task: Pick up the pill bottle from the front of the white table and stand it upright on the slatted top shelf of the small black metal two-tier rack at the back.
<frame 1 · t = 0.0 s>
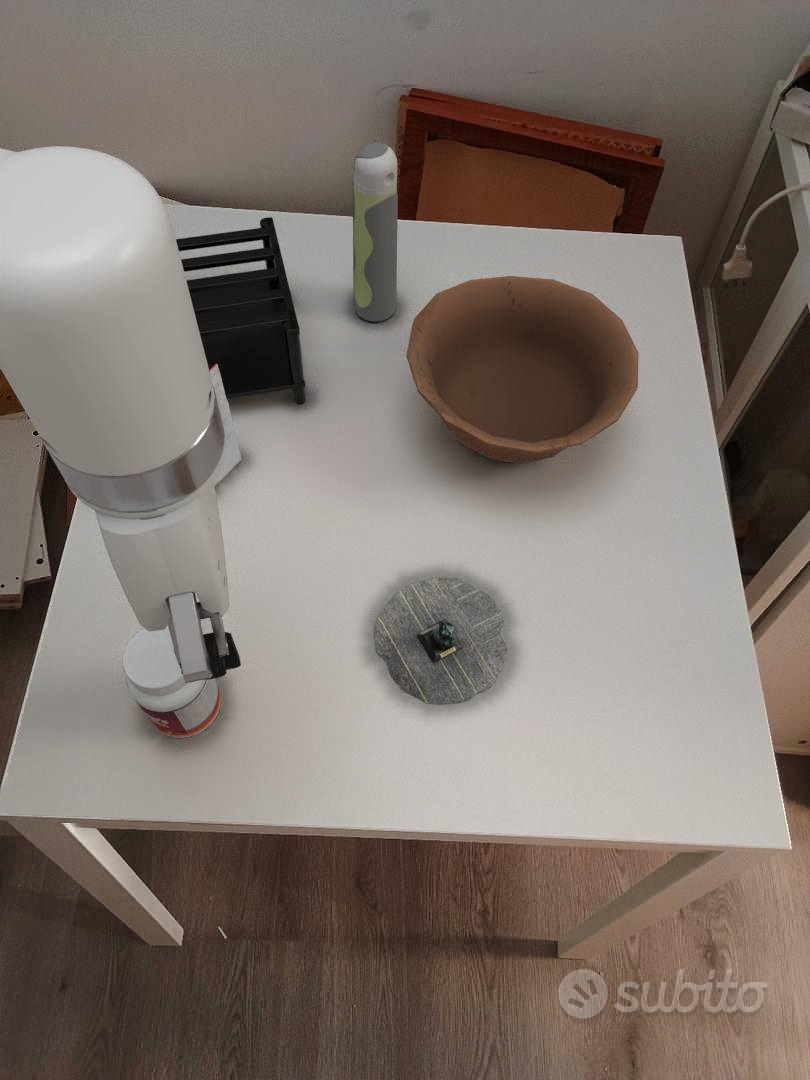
hand: (204, 596, 52), 22 cm above the table, tool pointing down, fingers open, 9 cm apart
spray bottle: (375, 309, 95), on the table
sculpture: (442, 639, 75), on the table
ink box: (204, 480, 82), on the table
bowl: (507, 424, 87), on the table
pill bottle: (186, 705, 71), on the table
rack: (240, 356, 90), on the table
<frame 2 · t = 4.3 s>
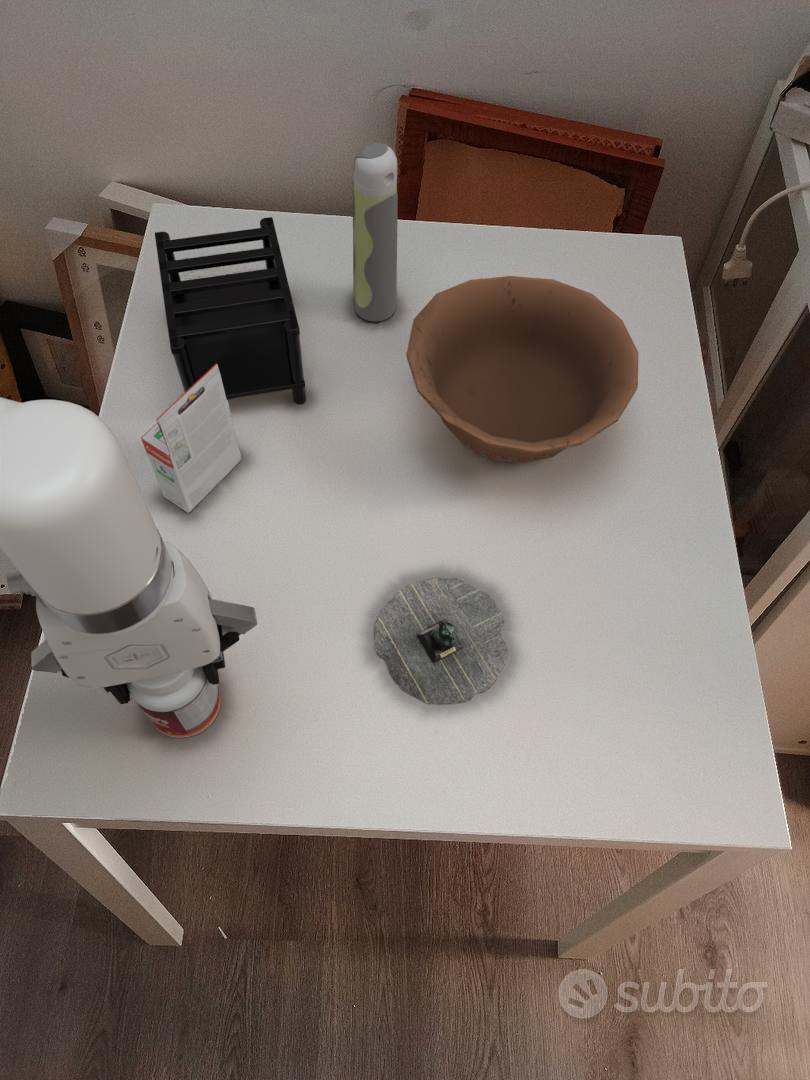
hand: (168, 675, 65), 7 cm above the table, tool pointing down, fingers closed on pill bottle, 6 cm apart
pill bottle: (186, 705, 71), on the table, touching gripper
everything else where it was.
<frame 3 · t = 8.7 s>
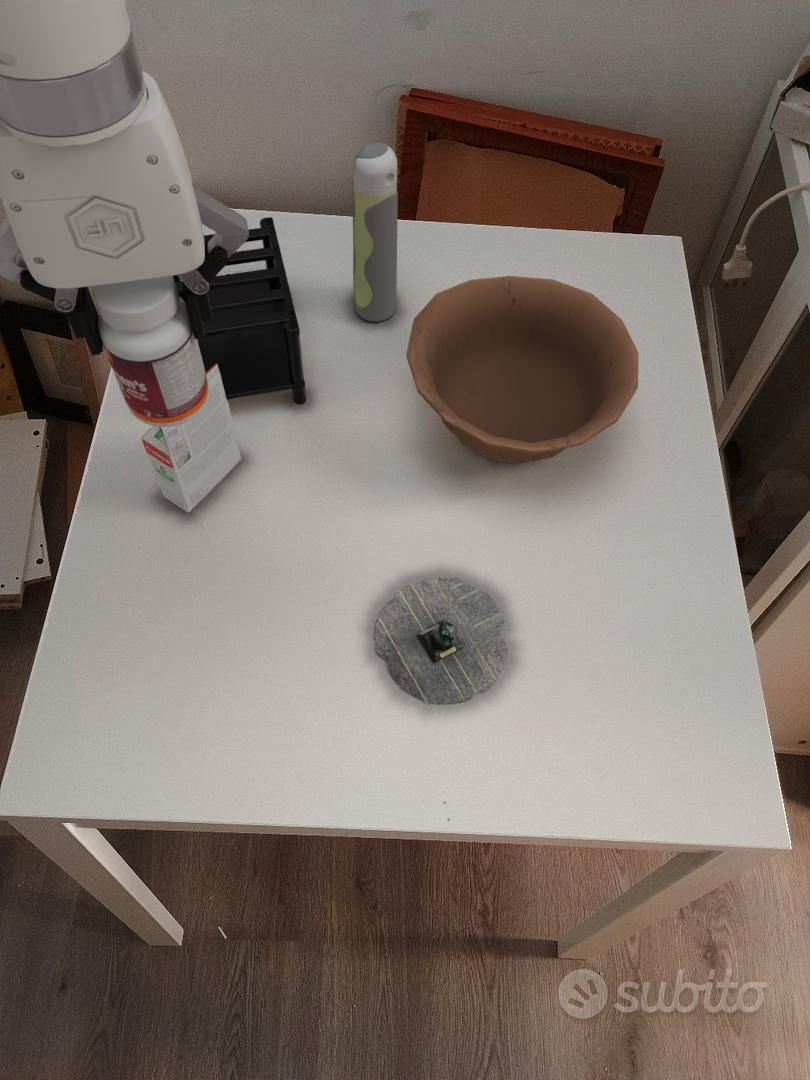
hand: (148, 330, 56), 27 cm above the table, tool pointing down, fingers closed on pill bottle, 6 cm apart
pill bottle: (170, 399, 63), point 19 cm above the table, touching gripper
everything else where it was.
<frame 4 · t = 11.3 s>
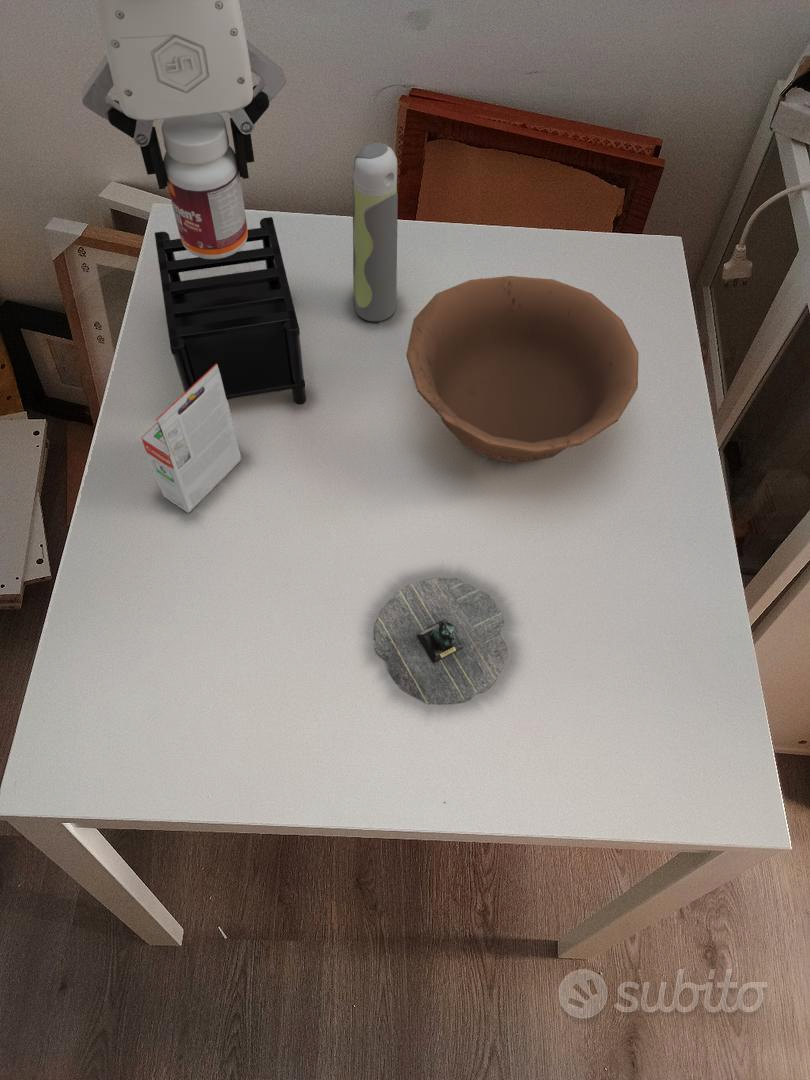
hand: (202, 171, 70), 23 cm above the table, tool pointing down, fingers closed on pill bottle, 6 cm apart
pill bottle: (215, 240, 77), point 16 cm above the table, touching gripper
everything else where it was.
when the fingers open (18 cm above the table, at t = 13.2 s): pill bottle stays where it is, resting on rack.
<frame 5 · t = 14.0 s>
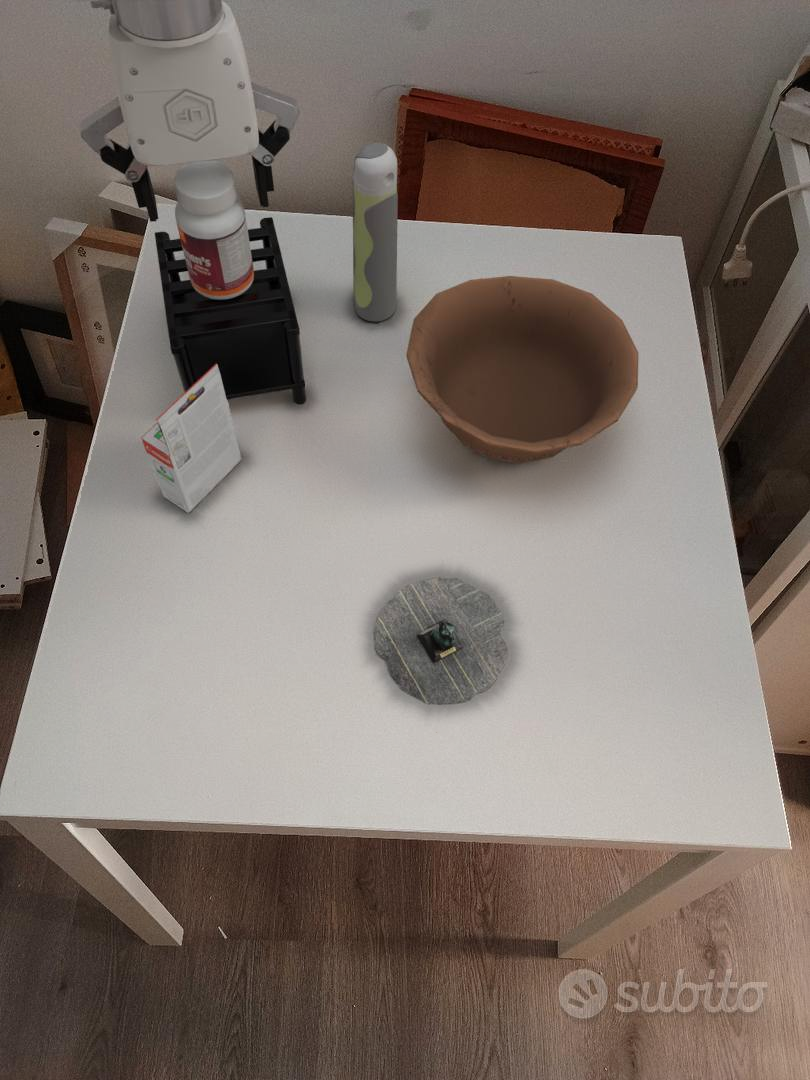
hand: (208, 204, 73), 20 cm above the table, tool pointing down, fingers open, 9 cm apart
pill bottle: (223, 281, 81), point 11 cm above the table, touching rack
everything else where it was.
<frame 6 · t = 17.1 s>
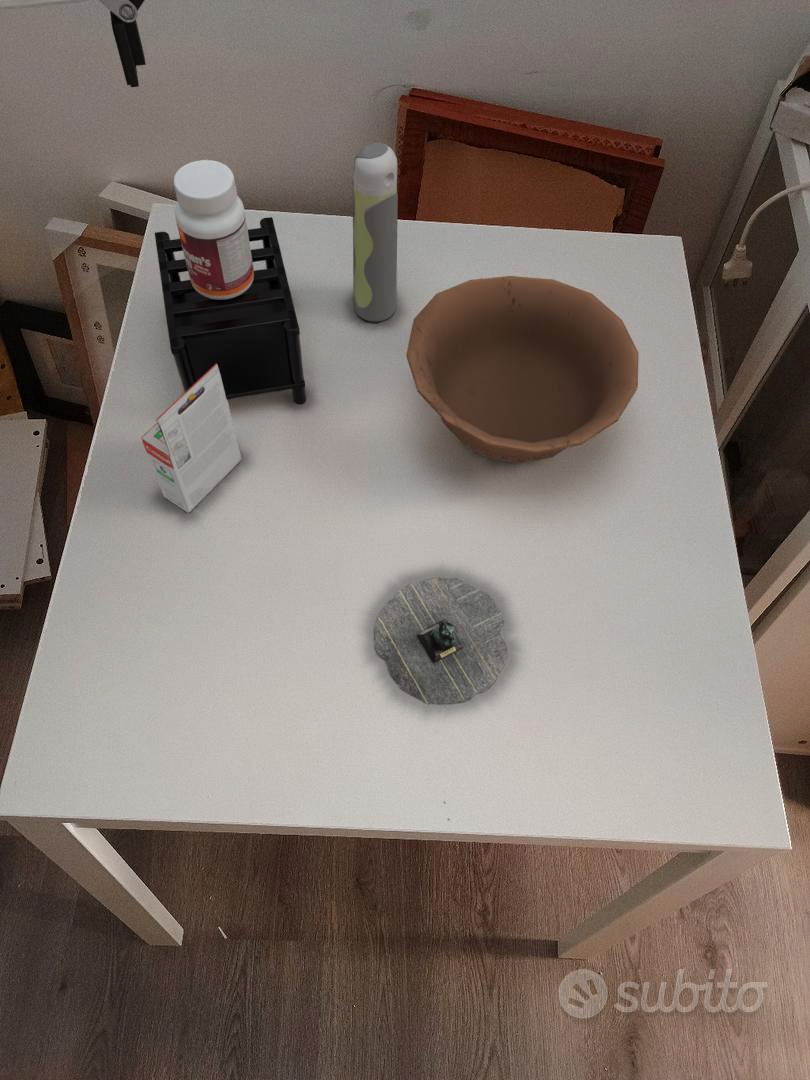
hand: (56, 83, 54), 36 cm above the table, tool pointing down, fingers open, 9 cm apart
nothing on the table moved.
at the end: pill bottle inside the target area on the rack (0.1 cm from its centre), point 10.8 cm above the rack's base; pill bottle tilted 0° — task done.
